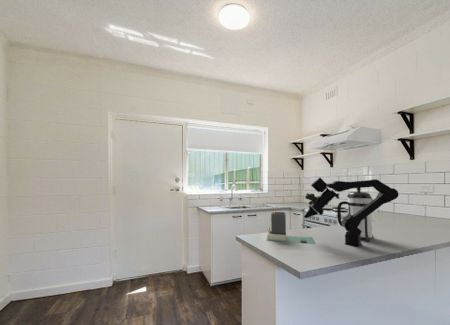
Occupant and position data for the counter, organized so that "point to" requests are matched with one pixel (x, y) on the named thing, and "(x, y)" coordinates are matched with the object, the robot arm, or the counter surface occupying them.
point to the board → (289, 238)
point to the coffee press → (356, 204)
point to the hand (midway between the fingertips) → (304, 217)
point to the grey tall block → (278, 223)
